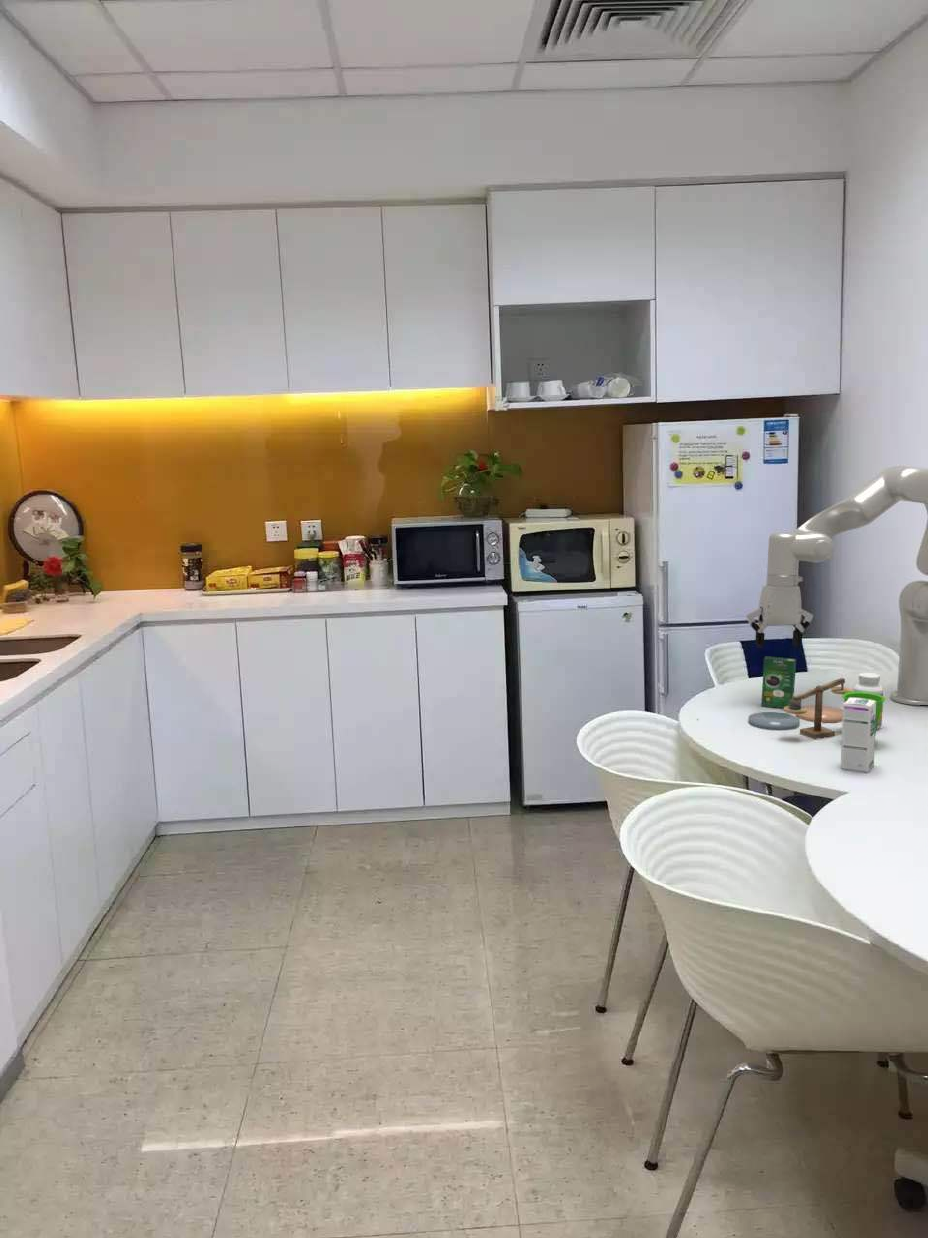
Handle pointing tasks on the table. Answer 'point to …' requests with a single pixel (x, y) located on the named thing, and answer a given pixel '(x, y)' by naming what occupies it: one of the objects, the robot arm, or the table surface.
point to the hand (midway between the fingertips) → (778, 646)
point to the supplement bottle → (870, 688)
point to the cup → (866, 695)
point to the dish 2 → (828, 714)
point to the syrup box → (858, 734)
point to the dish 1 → (774, 721)
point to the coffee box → (778, 681)
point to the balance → (816, 707)
